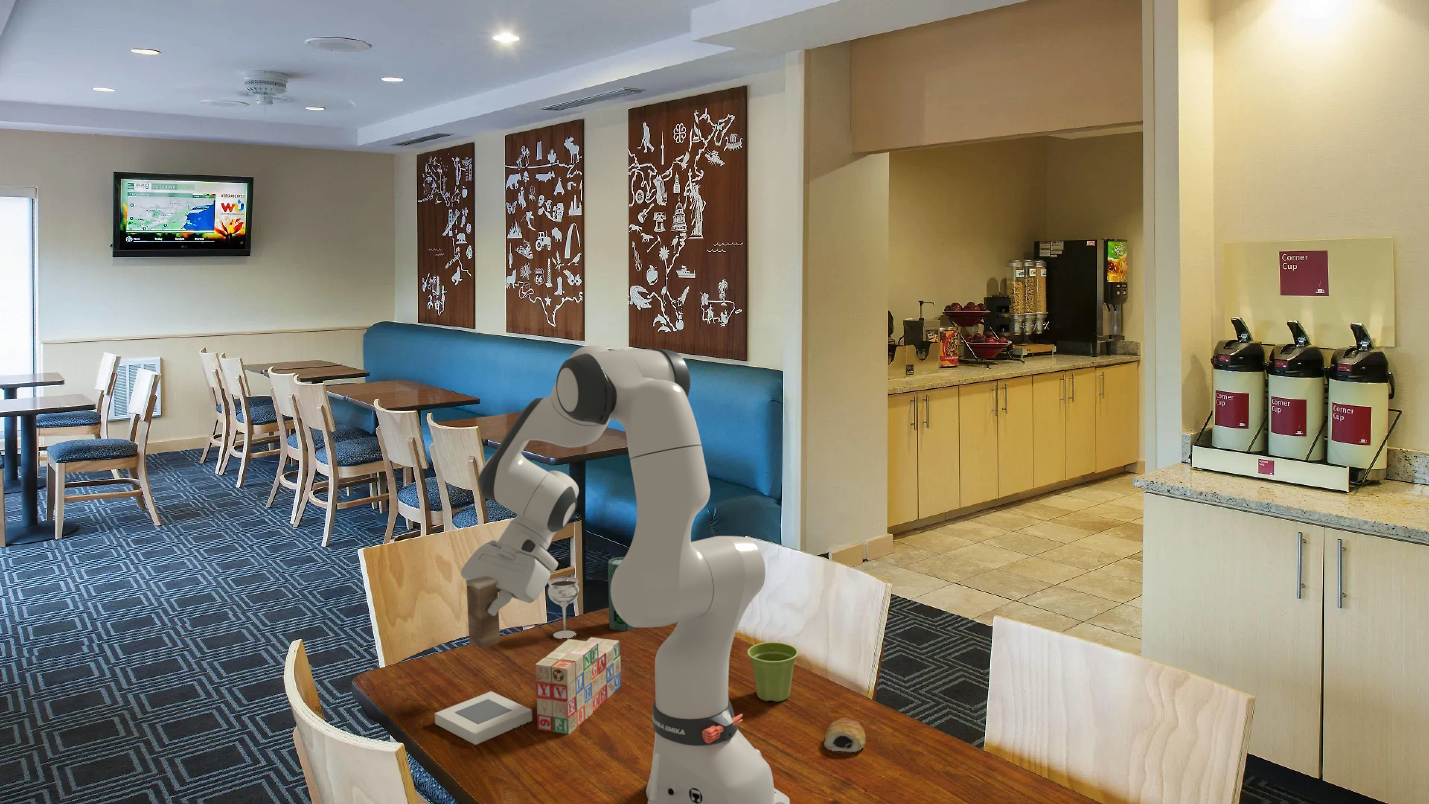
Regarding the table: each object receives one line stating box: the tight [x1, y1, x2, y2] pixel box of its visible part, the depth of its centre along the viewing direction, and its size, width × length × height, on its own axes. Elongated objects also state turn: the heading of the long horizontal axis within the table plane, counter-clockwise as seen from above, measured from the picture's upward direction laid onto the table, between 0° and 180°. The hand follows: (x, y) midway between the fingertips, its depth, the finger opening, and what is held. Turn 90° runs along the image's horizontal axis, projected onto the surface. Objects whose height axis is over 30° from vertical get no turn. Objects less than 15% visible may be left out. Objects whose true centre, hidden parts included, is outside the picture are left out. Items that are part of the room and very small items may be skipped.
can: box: [607, 556, 637, 632], centre depth 224 cm, size 6×6×15 cm
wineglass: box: [547, 576, 580, 640], centre depth 219 cm, size 7×7×12 cm
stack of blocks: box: [535, 636, 622, 735], centre depth 183 cm, size 21×6×12 cm, turn 160°
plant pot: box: [747, 641, 799, 703], centre depth 187 cm, size 9×9×9 cm
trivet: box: [434, 690, 533, 746], centre depth 178 cm, size 12×12×2 cm
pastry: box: [823, 717, 867, 753], centre depth 170 cm, size 9×7×4 cm
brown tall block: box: [465, 575, 501, 649], centre depth 187 cm, size 4×4×12 cm
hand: (480, 610), depth 186 cm, fingers closed on brown tall block, 4 cm apart
